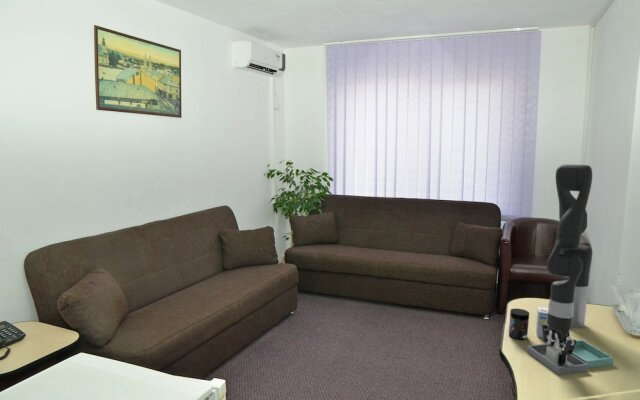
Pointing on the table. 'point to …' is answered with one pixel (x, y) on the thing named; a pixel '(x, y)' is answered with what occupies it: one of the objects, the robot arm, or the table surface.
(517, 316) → the supplement container
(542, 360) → the bin
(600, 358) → the bin
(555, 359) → the stone block
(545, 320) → the light bulb box
